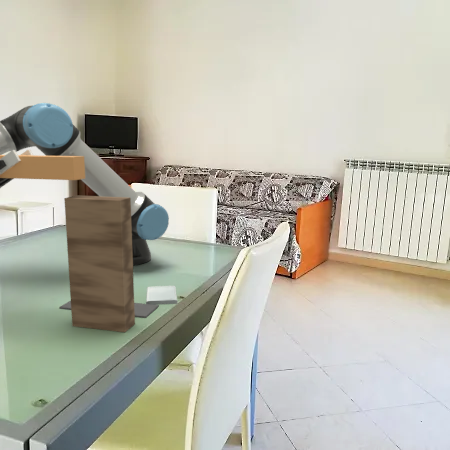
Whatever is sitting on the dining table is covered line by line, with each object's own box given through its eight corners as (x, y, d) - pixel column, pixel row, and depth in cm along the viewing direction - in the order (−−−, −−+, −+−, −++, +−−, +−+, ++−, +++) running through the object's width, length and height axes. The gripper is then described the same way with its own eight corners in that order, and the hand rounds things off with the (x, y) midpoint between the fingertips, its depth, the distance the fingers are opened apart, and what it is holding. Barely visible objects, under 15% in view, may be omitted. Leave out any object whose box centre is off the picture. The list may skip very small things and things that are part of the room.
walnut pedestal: (84, 318, 113) (77, 195, 108) (134, 323, 110) (130, 197, 104) (72, 326, 109) (64, 198, 103) (125, 332, 105) (120, 200, 100)
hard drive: (177, 299, 123) (175, 285, 135) (145, 301, 122) (146, 286, 134) (177, 305, 123) (175, 290, 136) (146, 307, 122) (146, 291, 134)
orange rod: (3, 176, 111) (1, 154, 111) (85, 178, 106) (84, 156, 105) (-11, 177, 107) (-13, 155, 106) (74, 180, 102) (73, 157, 101)
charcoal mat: (76, 298, 127) (76, 296, 127) (158, 306, 121) (158, 305, 121) (59, 308, 119) (59, 307, 119) (145, 318, 113) (145, 316, 113)
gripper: (-10, 210, 122) (55, 167, 115) (-67, 222, 105) (5, 172, 98) (-24, 185, 122) (40, 140, 115) (-83, 192, 105) (-12, 140, 98)
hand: (24, 155), depth 106 cm, fingers closed on orange rod, 4 cm apart
